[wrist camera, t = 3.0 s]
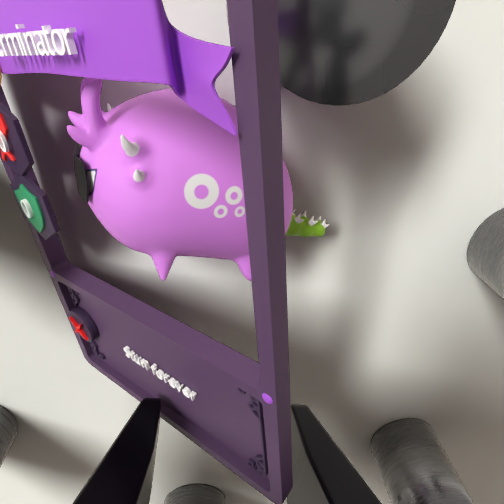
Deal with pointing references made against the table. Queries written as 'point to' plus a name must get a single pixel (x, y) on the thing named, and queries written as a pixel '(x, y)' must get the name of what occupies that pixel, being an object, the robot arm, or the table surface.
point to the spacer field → (345, 93)
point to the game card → (171, 208)
